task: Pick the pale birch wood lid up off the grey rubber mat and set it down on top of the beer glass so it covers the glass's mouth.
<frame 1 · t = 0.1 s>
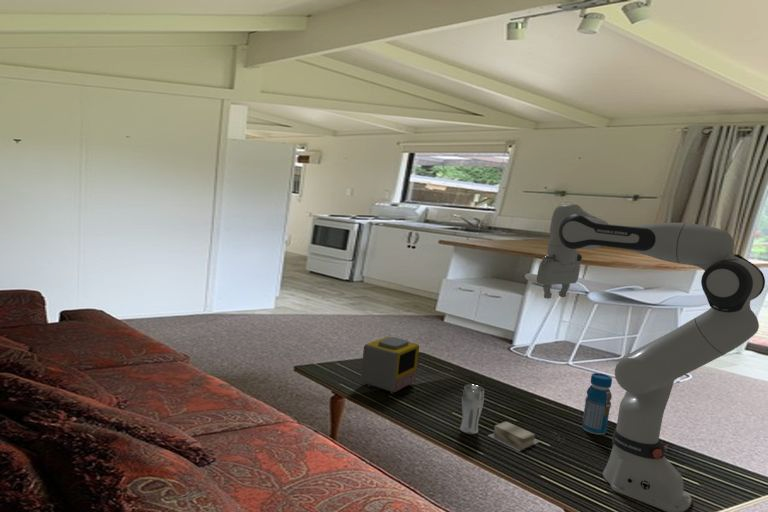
hand: (555, 297, 165), 48 cm above the table, tool pointing down, fingers open, 8 cm apart
alarm clock: (388, 386, 205), on the table
grey mat: (513, 440, 167), on the table
beer glass: (468, 432, 170), on the table
beverage bottle: (593, 430, 182), on the table
birch lid: (513, 438, 167), point 1 cm above the table, touching grey mat
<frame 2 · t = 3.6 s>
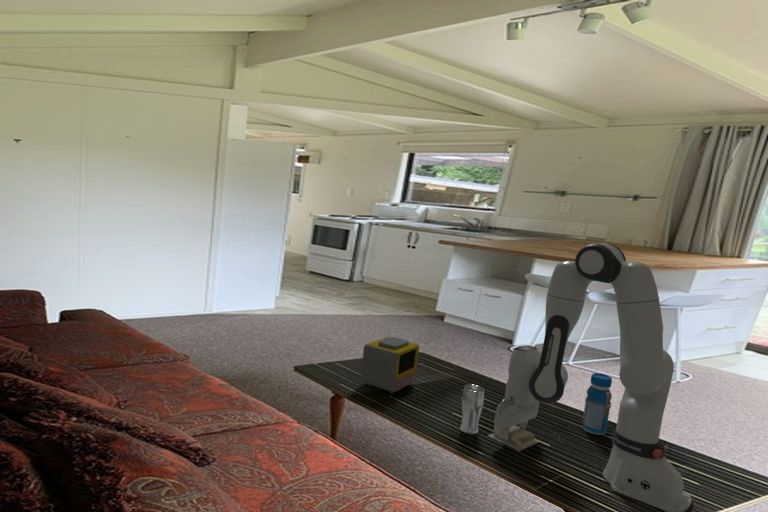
hand: (513, 435, 167), 2 cm above the table, tool pointing down, fingers closed on birch lid, 7 cm apart
birch lid: (513, 438, 167), point 1 cm above the table, touching grey mat, gripper
everything else where it was.
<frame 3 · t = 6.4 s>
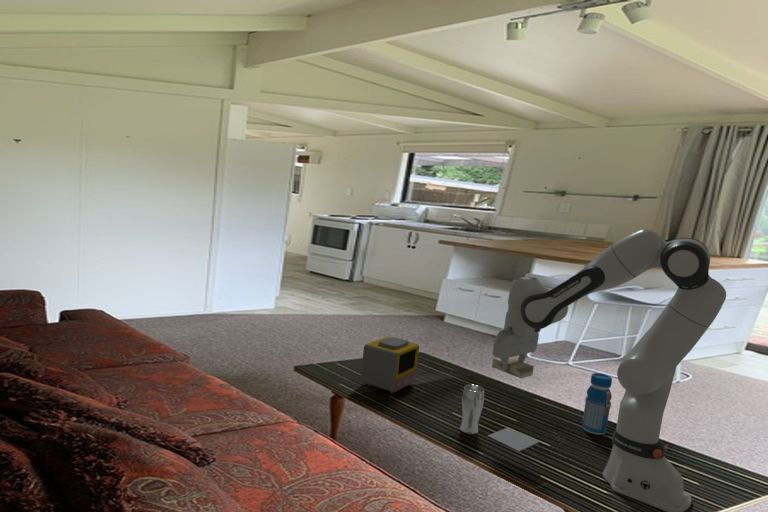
hand: (512, 367, 165), 24 cm above the table, tool pointing down, fingers closed on birch lid, 7 cm apart
birch lid: (511, 371, 166), point 23 cm above the table, touching gripper
everything else where it was.
when the fingers open (17 cm above the table, at t = 8.9 s): birch lid drops 1 cm, resting on beer glass.
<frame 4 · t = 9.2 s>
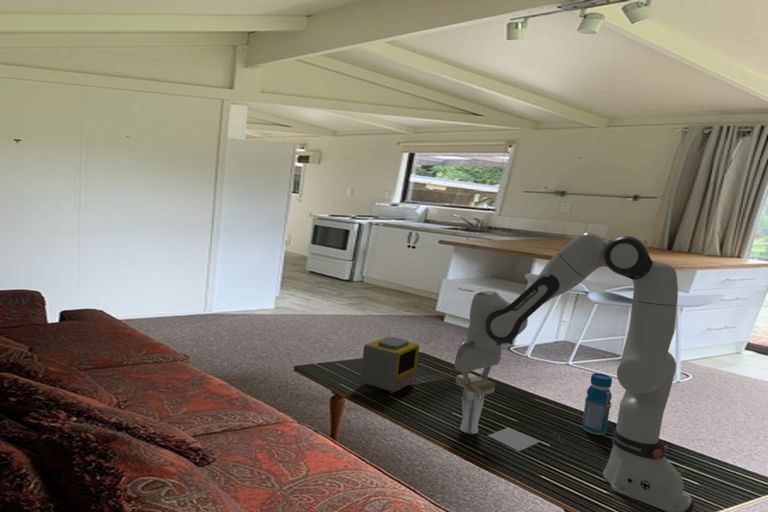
hand: (475, 380, 169), 17 cm above the table, tool pointing down, fingers open, 8 cm apart
beer glass: (468, 431, 170), on the table, touching birch lid
birch lid: (474, 388, 169), point 15 cm above the table, touching beer glass
everything else where it was.
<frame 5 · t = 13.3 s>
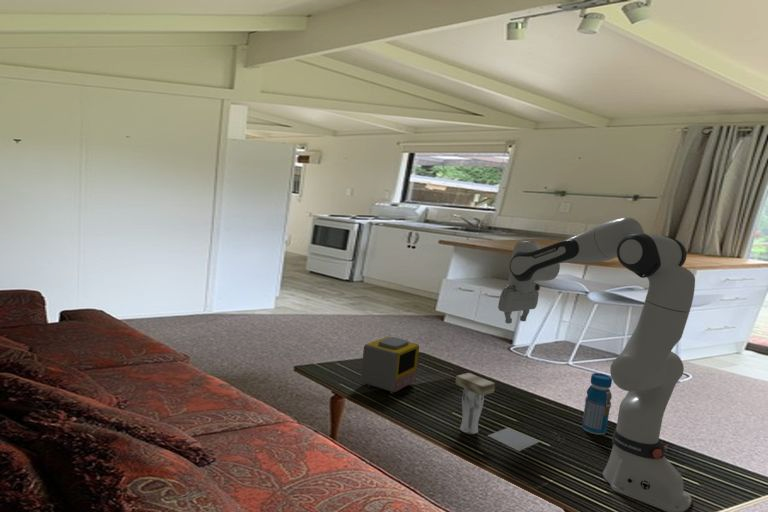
hand: (515, 322, 187), 34 cm above the table, tool pointing down, fingers open, 8 cm apart
nothing on the table moved.
at the end: birch lid 0.1 cm off-centre on the beer glass, point 15.2 cm above the beer glass's base; beer glass tilted 0°; birch lid touching beer glass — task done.
